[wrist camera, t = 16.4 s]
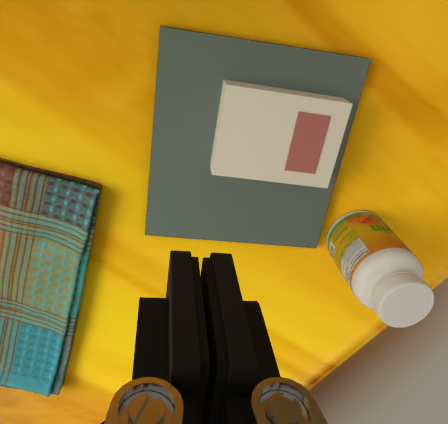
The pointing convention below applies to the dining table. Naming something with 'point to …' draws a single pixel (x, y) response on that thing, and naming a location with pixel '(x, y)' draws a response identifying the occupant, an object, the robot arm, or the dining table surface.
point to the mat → (205, 132)
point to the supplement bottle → (380, 268)
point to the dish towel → (41, 271)
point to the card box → (278, 134)
